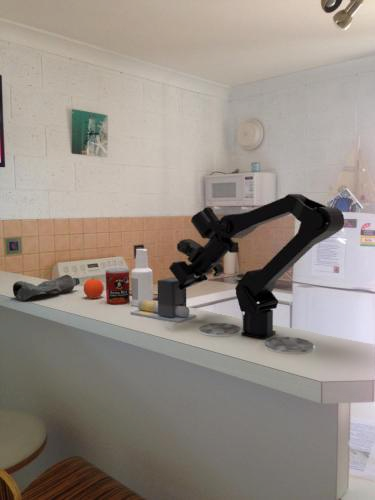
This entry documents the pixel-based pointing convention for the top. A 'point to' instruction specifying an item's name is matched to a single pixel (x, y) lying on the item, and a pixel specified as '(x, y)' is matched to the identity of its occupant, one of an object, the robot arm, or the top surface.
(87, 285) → the clementine
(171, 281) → the sleeve
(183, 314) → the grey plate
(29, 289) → the crushed bottle
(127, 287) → the canned food
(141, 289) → the spray bottle
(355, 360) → the top surface
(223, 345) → the top surface
